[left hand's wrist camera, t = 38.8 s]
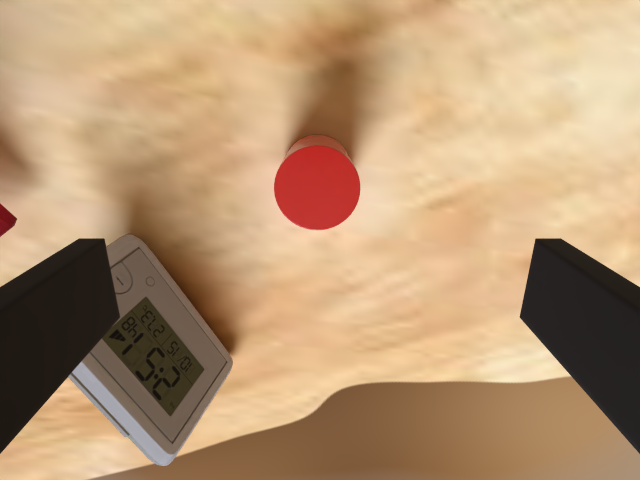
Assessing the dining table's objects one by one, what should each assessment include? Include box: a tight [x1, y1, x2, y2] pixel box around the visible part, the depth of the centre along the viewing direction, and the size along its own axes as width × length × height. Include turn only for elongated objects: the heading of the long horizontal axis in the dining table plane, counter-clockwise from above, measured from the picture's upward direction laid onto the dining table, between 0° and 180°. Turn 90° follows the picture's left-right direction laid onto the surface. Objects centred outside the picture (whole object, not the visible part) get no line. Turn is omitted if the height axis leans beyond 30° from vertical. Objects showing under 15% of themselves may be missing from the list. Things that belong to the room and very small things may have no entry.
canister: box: [274, 135, 360, 230], centre depth 30 cm, size 6×6×8 cm
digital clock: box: [68, 234, 233, 466], centre depth 32 cm, size 16×9×11 cm, turn 18°
